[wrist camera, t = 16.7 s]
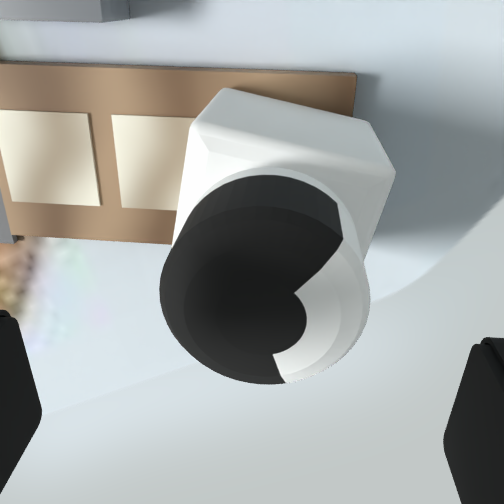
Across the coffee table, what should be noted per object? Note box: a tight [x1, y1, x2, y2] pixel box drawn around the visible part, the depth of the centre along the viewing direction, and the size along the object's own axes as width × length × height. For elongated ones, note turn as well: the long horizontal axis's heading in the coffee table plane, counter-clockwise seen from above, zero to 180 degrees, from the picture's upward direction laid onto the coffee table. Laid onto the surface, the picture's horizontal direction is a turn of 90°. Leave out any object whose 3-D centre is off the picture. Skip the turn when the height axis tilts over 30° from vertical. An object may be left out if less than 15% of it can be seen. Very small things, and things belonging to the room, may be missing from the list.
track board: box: [0, 60, 357, 245], centre depth 25 cm, size 18×9×1 cm, turn 89°
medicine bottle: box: [159, 88, 396, 384], centre depth 18 cm, size 7×7×12 cm
